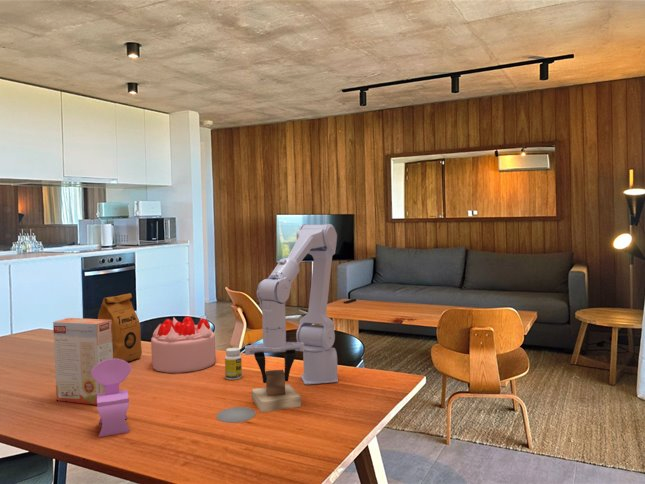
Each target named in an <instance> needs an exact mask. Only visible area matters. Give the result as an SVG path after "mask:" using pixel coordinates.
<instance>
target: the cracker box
mask: <svg viewBox="0 0 645 484" xmlns="http://www.w3.org/2000/svg"><path fill="white" fill-rule="evenodd" d="M52 323H53V324H52V325H53V327H52V328H53V341H54V342H53V349H54V350H53V351H54V369H55V370H54V371H55V395H56V398H55V399H56V401H57V400H58V401H59V402H66V401H67V402H68V403H75V402H76V403H77V404H84V405H94V406H97V394H99V393H105V386H104V385H102V384H99V383H98V382H97V381H96V380H95V379H94V378H93V377H92V374H91V371H92V369H93V367H94V366H96V365H97V364H98V363H100V362H102V361H104V360H107V359H113V347H112V322H111V320H103V319H98V318H81V317H80V318H79V317H78V318H77V317H76V318H75V317H66V318H63V319H58V320H55V321H53V322H52Z"/></svg>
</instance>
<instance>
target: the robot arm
mask: <svg viewBox="0 0 645 484" xmlns="http://www.w3.org/2000/svg"><path fill="white" fill-rule="evenodd" d="M337 241H338V233H337V231H336V228H335V226H334V225H333V224H331V223H327V224H306V223H304V224H301V225H300V226H299V228H298V229H297V231H296V241H295V242H294V245H293V246H292V248H291V250H290V252H289V254H288V256H287V257H282V258H281V259H279V261H278V262H277V265H276V266H275V268H274V269H273V270H272V272H271V273H270V275H269V276H268V277H267V278H265V279H263V280H261V281H260V282H259V283H258V286H257V290H256V298H257V299H258V301H259V307H260V309H261V316H262V317H261V319H262V321H261V322H262V343H256V344H250V345H249V344H248V345H245V346H244V354H245V356H251V355H254V359H255V361H256V364H257V365H258V368H259V369H260V373H261V376H262V377H261V378H262V383H263V384H266V356H265V354H270V353H271V354H272V353H273V354H274V353H283V356H284V374H285V382H289V377H290V372H291V369H292V365H293V363H294V361H295V360H296V357H297V353H296V352H302V358H303V360H302V361H303V364H302V365H303V374H300V378H301V380H302V382H303V384H304V385H317V384H328V383H329V384H330V383H331V384H332V383H338V382H339V379H338V355H337V354H338V353H337V349H336V348H335V347H333V345H334V343H335V340H336V333H335V322H334V321H333V320H332V319H331V318H330V317H329V316H328V315H327V309H328V302H329V301H328V300H329V290H330V280H331V272H332V263H333V256H334V255H335V254H336V250H337V249H336V248H337ZM307 255H311V256H312V259H313V263H312V265H313V266H312V273H311V274H312V275H311V285H310V290H309V291H310V293H309V302H308V310H307V313H306V314H305V315H304V316H303V317H301V318H300V319H299V324H298V328H297V330H296V334H295V335H296V337H295V338H296V341H287V329H286V326H287V325H286V324H287V322H286V301H288V300H289V298H290V293H291V289H292V283H293V282H294V280H295V279H296V277H297V275H298V274H299V272H300V266H299V265H300V264H301V262H302V261H303V260H304V259H305V257H306V256H307ZM314 324H315V325H314Z"/></svg>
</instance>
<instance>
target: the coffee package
mask: <svg viewBox="0 0 645 484" xmlns="http://www.w3.org/2000/svg"><path fill="white" fill-rule="evenodd" d="M132 298H133V296H132V293H130V292H129V293H125V294H120V295H116V296H114V295H113V296H108V297H104V298H103V299H102V303H101V306H100V308H99V311H98V316H97V319H103V320H111V322H112V347H113V359H121V360H124V361H126V362H128V363H129V362H131V361H134V360H137V359H140V358H141V357H142V354H143V352H142V350H143V349H142V338H141V337H142V336H141V335H142V333H141V331H142V330H141V324H140V320H139V318H138V314H137V313H136V311H135V309H134V306H133V302H132V301H131V299H132Z"/></svg>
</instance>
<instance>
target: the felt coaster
mask: <svg viewBox="0 0 645 484" xmlns="http://www.w3.org/2000/svg"><path fill="white" fill-rule="evenodd" d="M255 416H256V411H255V410H254V409H253V408H249V407H245V406H242V407H241V406H238V407H236V406H235V407H230V408H225V409H223V410H220V411H219V412H218V413H217V414H216V419H217V420H218V421H220V422H222V423H229V424H235V423H236V424H237V423H242V422H243V423H244V422H247V421H250V420H251V419H253V418H254V417H255Z"/></svg>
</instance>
